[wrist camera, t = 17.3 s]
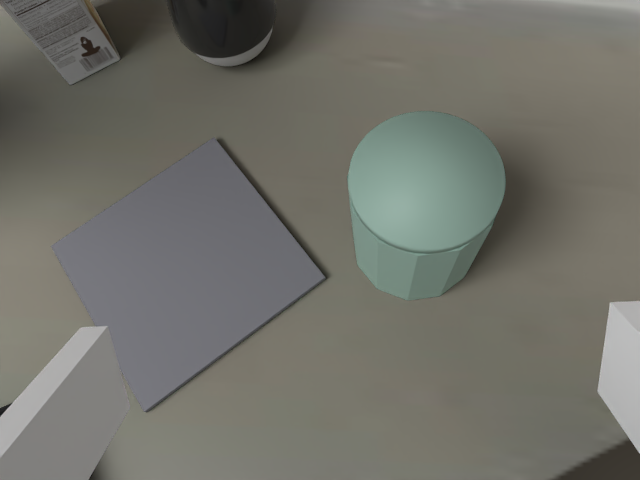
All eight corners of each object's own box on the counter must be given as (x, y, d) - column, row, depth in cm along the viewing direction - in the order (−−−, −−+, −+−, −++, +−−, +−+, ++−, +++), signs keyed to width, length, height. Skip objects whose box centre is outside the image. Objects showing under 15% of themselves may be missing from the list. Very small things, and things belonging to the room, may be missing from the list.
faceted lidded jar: (331, 234, 45) (318, 167, 34) (419, 170, 47) (433, 86, 36) (405, 323, 42) (416, 280, 31) (497, 251, 43) (539, 185, 32)
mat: (54, 248, 48) (50, 246, 47) (215, 140, 50) (214, 137, 50) (147, 412, 41) (144, 411, 41) (325, 279, 44) (325, 277, 43)
